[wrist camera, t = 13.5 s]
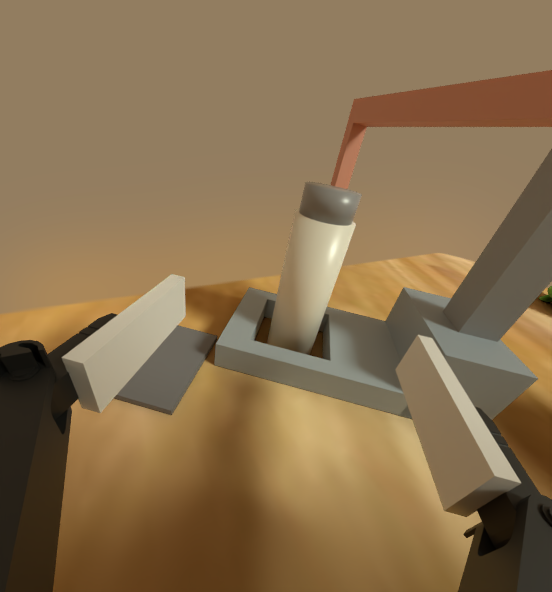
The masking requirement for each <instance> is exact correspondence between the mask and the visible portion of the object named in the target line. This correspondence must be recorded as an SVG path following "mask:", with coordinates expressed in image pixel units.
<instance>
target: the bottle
mask: <svg viewBox="0 0 552 592" xmlns="http://www.w3.org/2000/svg"><path fill="white" fill-rule="evenodd" d="M360 198H361V194H360V193H357V192H354V191H351V190H348V189H344V188H340V187H336V186H332V185H327V184H321V183H315V182H306V183H305V187H304V191H303V196H302V201H301V205H300V209H296V210H295V214H294V218H293V223H292V228H291V232H290V237H289V242H288V246H287V251H286V256H285V260H284V265H283V270H282V274H281V279H280V284H279V288H278V293H277V298H276V302H275V307H274V312H273V316H272V321H271V326H270V330H269V335H268V340H267V344H269V345H272V346H276V347H280V348H284V349H288V350H291V351H295V352H299V353H303V354H307V355H310V353H311V350H312V347H313V344H314V342H315V339H316V336H317V333H318V330H319V327H320V325H321V322H322V319H323V316H324V313H325V310H326V308H327V305H328V302H329V299H330V296H331V294H332V291H333V288H334V285H335V282H336V279H337V277H338V274H339V271H340V268H341V265H342V262H343V259H344V257H345V254H346V251H347V248H348V245H349V242H350V240H351V237H352V234H353V231H354V228H355V226H356V224H355V223H354V222H353V219H354V216H355V213H356V210H357V207H358V204H359V201H360Z"/></svg>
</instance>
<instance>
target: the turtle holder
mask: <svg viewBox="0 0 552 592" xmlns="http://www.w3.org/2000/svg"><path fill="white" fill-rule="evenodd" d="M539 299H540V300H542V301H546V302H552V286H550V287H549V288H548V295H545V296H542V297H539Z"/></svg>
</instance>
